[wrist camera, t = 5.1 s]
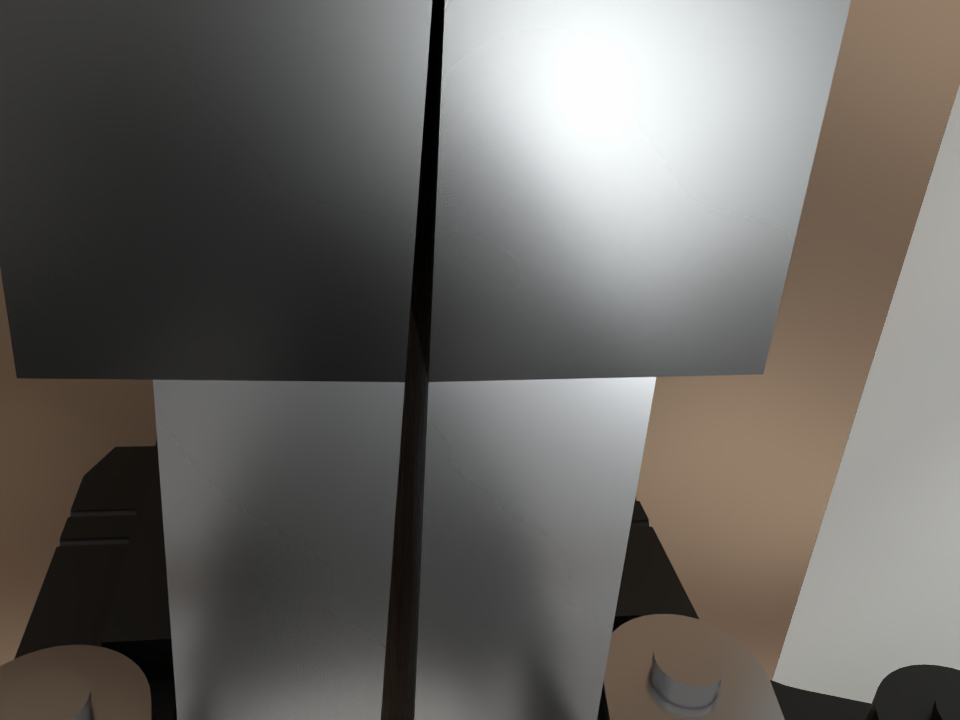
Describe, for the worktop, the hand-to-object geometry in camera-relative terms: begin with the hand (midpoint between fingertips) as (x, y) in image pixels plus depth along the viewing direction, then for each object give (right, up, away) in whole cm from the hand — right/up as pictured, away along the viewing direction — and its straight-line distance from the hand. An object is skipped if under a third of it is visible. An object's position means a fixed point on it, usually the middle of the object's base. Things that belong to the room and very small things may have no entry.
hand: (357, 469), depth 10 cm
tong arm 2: (-1, -2, +1) cm, 3 cm away
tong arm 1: (+1, -2, +2) cm, 3 cm away
